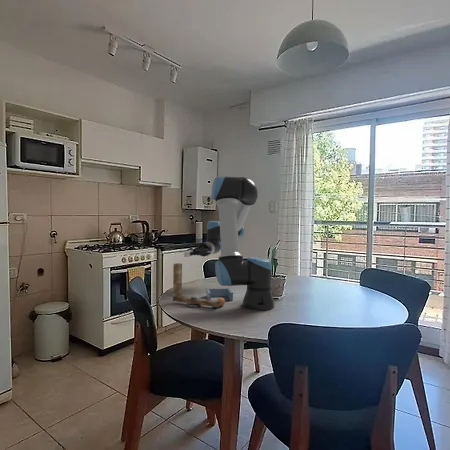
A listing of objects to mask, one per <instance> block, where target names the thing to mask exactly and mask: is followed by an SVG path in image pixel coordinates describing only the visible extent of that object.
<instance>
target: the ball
mask: <svg viewBox="0 0 450 450" xmlns="http://www.w3.org/2000/svg"><path fill="white" fill-rule="evenodd" d="M216 301H220V306H219V307H223V306H225V303H226V301H225V299H224V298H223V297H219V298H217V299H216Z"/></svg>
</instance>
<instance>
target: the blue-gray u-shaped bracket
mask: <svg viewBox="0 0 450 450" xmlns="http://www.w3.org/2000/svg"><path fill="white" fill-rule="evenodd" d="M205 290H206V292H205V293H206V294H205V295H206V298H207V299H206V300H212V297H227V298H228V299H229V301H233V300H234V292H233V291H232V289H231V288H230V287H223V288H222V287H217V288H216V287H215V288H212V287H211V288H206V289H205Z"/></svg>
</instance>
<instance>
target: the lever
mask: <svg viewBox="0 0 450 450" xmlns="http://www.w3.org/2000/svg"><path fill="white" fill-rule="evenodd" d="M172 273H173V274H172V279H173V280H172V289H173V290H172V292H173V293H172V302H178V303H185V304H186V303H191V304H198V305H201V306H205V307H214V308H219V307H221V306H220V301H217V300H213V299H211V300H208V299H205V298H197V297H196V296H191V297H190V296H183V295H182V293H183V292H182V290H183V263H179V262H178V263H173V272H172Z"/></svg>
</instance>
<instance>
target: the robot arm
mask: <svg viewBox="0 0 450 450" xmlns="http://www.w3.org/2000/svg"><path fill="white" fill-rule="evenodd" d="M211 187H212V188H211V199H212V200H213V201H215V205H216V206H217V207H218V216H219V219H218V220H209V221H207V223H206V241H205V242H202V243H199V244H198V246H196V247H194V248H193V247H191V246H190V247H189V248H188V249H186V251H184V252H183V257H184V258H189V257H192V256H198V257H199V256H201V257H209V255H210V256H211V255H214V254H217V253H219V252H221V253H220V255H219V257H218V258H217V259H218V260H217V261H215V263H214V264H215V265H214V271H215V278H216V280H217V282H218V284H219V285H220V286H224V287H233V286H234V287H235V286H246V291H245V294H244V295H243V296H244V298H243V300H242V307H243V308H245V309H247V310H252V311H269V310H273V309H275V300H274V296H273V293H272V275H273V274H272V273H273V269H272V265H273V264H272V262H271V261H270V260H269V259H266V258H263V257H262V258H261V257H256V256H248V257H247V259H246V260H244V256H243V255H242V254H241V253H240V245H239V244H240V242H239V238H242V237H244V233H245V227H244V224H245V221H246V220H247V217H248V216H249V213H250V210H251V208H252V206H255V204H256V202H257V200H258V188H257V186H256V183H254V181H253V180H251V179H250V178H249V177H248V178H247V177H244V176H241V177H240V176H226V175H224V176H222V175H220V176H216V177H215V178H214V180H213V183H212V186H211Z"/></svg>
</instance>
